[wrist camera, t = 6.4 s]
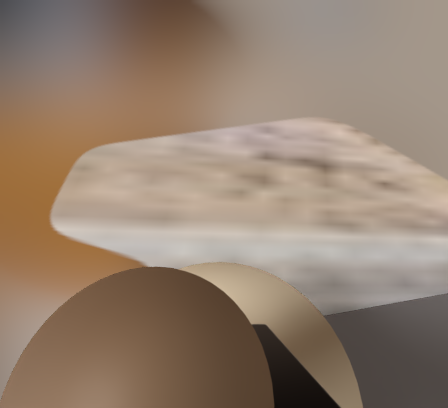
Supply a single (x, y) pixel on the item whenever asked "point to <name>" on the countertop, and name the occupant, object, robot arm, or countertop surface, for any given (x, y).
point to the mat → (398, 352)
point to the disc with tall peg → (176, 343)
